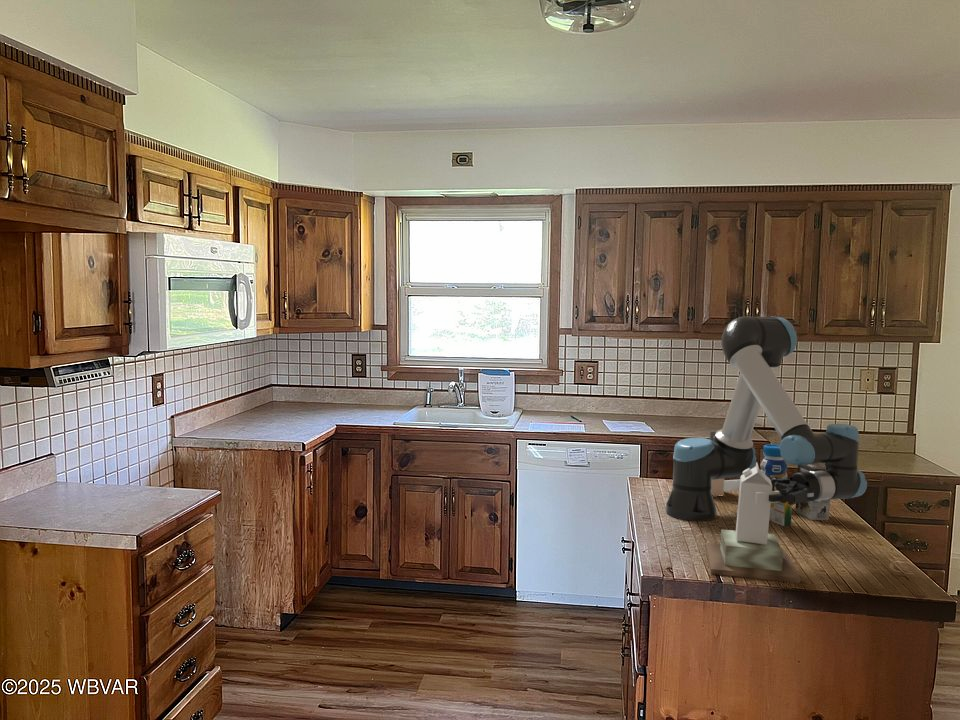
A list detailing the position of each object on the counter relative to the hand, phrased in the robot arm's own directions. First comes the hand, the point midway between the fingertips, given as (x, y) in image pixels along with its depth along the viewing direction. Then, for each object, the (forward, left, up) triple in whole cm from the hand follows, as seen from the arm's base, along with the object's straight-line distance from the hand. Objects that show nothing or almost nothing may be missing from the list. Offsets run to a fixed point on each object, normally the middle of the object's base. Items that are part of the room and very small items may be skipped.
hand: (739, 491), depth 172 cm
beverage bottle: (-13, +61, -19) cm, 66 cm away
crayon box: (-5, +44, -19) cm, 49 cm away
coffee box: (0, +59, -19) cm, 62 cm away
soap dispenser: (-33, +63, -19) cm, 74 cm away
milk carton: (+2, +3, -12) cm, 13 cm away
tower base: (+2, +3, -19) cm, 19 cm away
